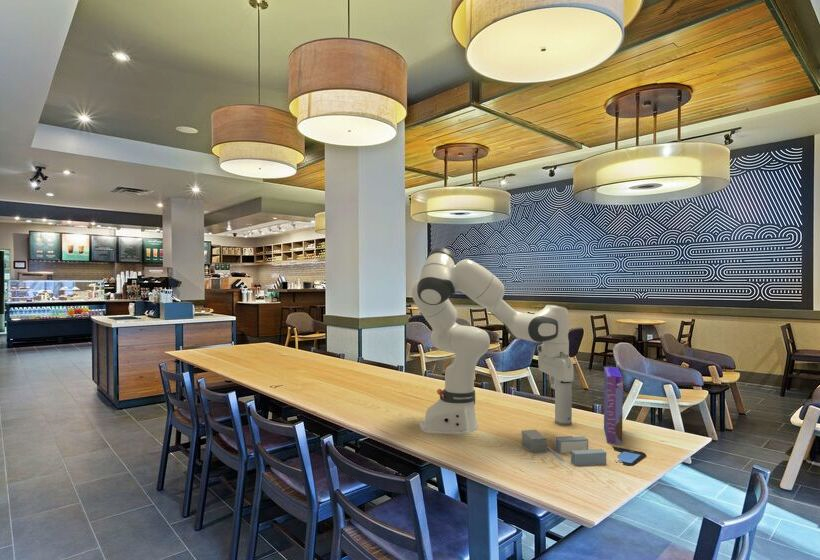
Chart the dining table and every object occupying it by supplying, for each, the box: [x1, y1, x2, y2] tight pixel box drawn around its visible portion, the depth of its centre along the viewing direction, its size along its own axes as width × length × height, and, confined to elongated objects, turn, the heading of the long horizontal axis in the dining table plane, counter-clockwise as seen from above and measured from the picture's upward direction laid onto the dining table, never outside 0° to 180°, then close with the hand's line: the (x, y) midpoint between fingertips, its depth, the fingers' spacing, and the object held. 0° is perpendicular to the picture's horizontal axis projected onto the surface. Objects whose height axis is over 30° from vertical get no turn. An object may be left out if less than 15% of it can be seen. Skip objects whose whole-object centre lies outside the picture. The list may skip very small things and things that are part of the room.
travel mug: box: [554, 381, 573, 426], centre depth 175 cm, size 6×7×20 cm
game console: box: [611, 445, 647, 467], centre depth 142 cm, size 14×13×2 cm
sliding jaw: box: [555, 435, 589, 454], centre depth 148 cm, size 10×7×5 cm
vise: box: [547, 447, 607, 466], centre depth 141 cm, size 12×14×5 cm
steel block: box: [521, 429, 548, 454], centre depth 148 cm, size 5×8×6 cm, turn 10°
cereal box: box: [603, 365, 624, 445], centre depth 161 cm, size 17×5×24 cm, turn 160°
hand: (555, 388), depth 158 cm, fingers closed
